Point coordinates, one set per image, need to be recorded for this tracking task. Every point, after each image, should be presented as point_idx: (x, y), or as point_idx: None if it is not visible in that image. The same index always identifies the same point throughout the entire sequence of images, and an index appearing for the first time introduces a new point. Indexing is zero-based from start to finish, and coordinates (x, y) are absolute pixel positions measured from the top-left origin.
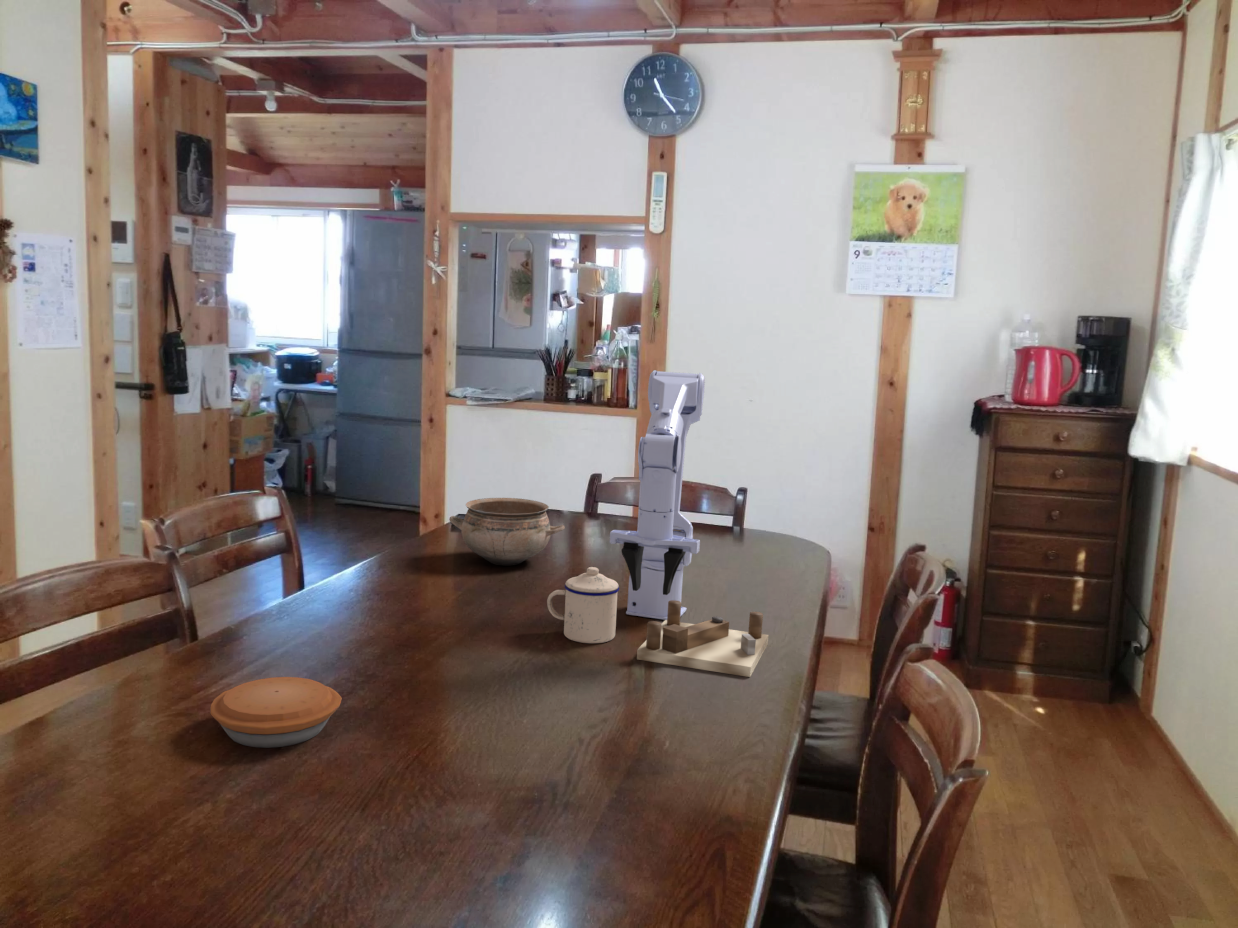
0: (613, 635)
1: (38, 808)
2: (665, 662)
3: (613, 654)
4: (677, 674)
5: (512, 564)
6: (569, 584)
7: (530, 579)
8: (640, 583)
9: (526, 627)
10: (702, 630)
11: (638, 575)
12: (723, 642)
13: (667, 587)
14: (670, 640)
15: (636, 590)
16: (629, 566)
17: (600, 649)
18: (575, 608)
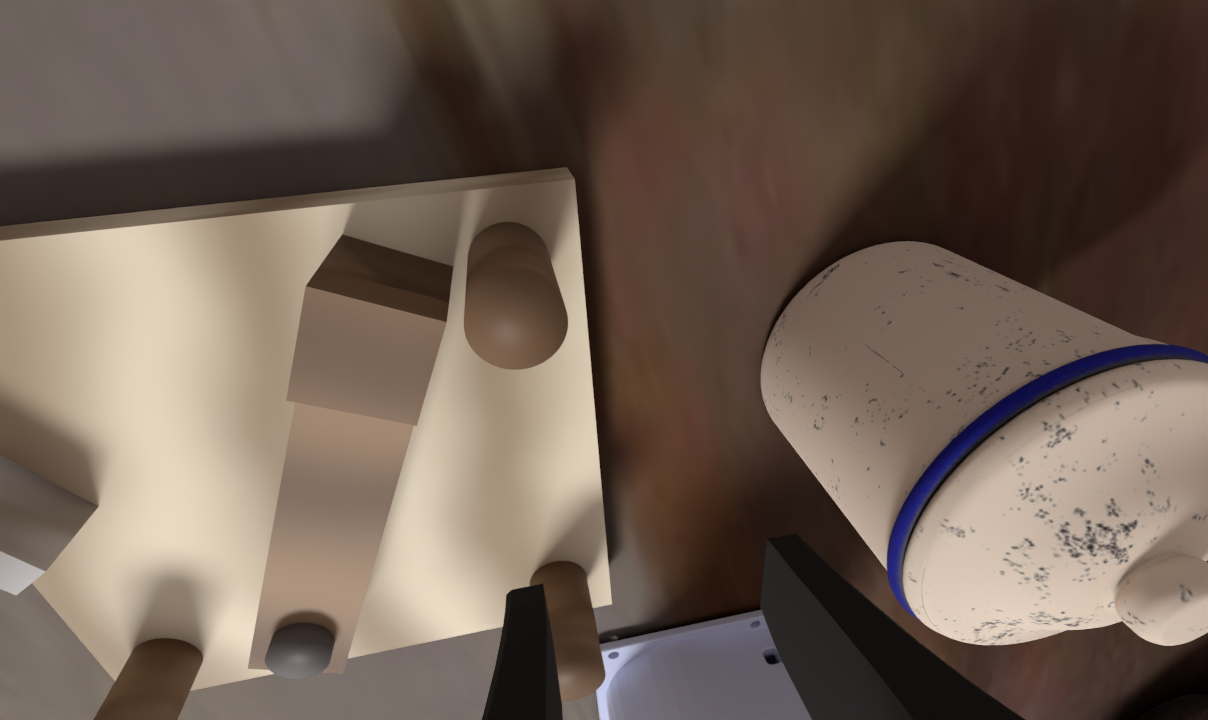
0: (766, 369)
1: None
2: (396, 185)
3: (702, 172)
4: (234, 36)
5: (1149, 713)
6: None
7: (1100, 667)
8: (773, 637)
9: (1127, 293)
10: (279, 495)
11: (826, 681)
12: (235, 528)
13: (502, 647)
14: (379, 271)
15: (769, 539)
16: (994, 713)
17: (781, 207)
18: (1062, 306)
